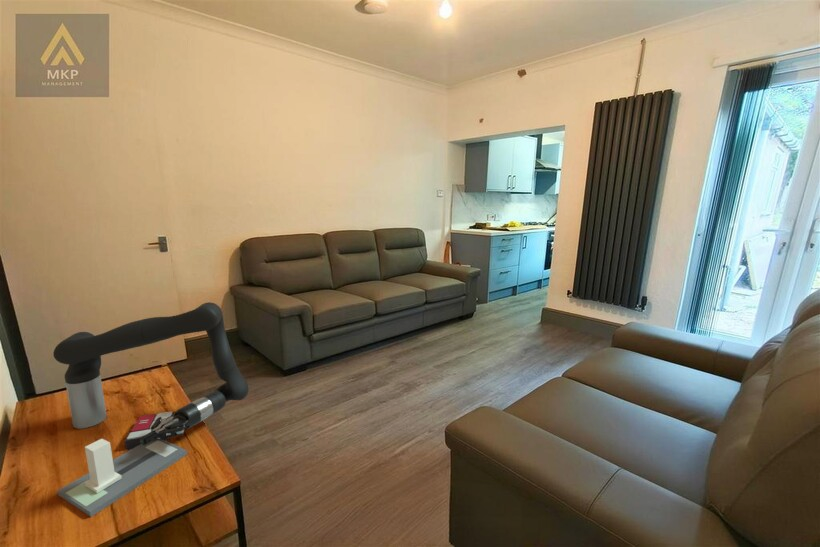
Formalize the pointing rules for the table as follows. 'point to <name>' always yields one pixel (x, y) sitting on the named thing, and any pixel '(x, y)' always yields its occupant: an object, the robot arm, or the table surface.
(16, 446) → the table surface
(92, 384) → the robot arm
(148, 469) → the switch panel
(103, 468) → the switch slider
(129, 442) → the calculator
